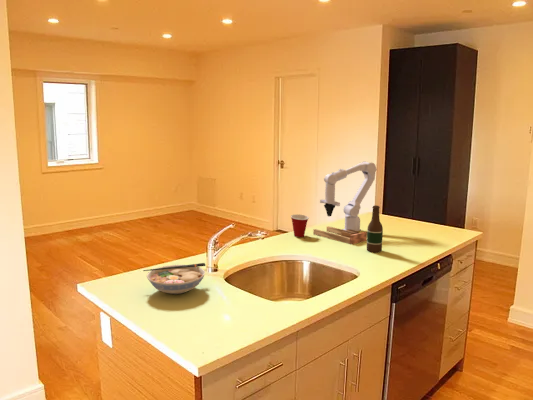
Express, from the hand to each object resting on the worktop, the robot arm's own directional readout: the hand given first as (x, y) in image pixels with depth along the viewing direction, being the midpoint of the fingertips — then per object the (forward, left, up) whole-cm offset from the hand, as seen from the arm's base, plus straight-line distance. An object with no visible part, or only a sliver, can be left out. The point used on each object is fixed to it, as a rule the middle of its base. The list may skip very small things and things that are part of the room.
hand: (329, 216), depth 278 cm
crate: (+5, +21, -10) cm, 23 cm away
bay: (+5, +12, -10) cm, 16 cm away
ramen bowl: (+120, +29, -10) cm, 124 cm away
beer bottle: (+12, +43, -10) cm, 46 cm away
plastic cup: (+21, -4, -10) cm, 24 cm away
